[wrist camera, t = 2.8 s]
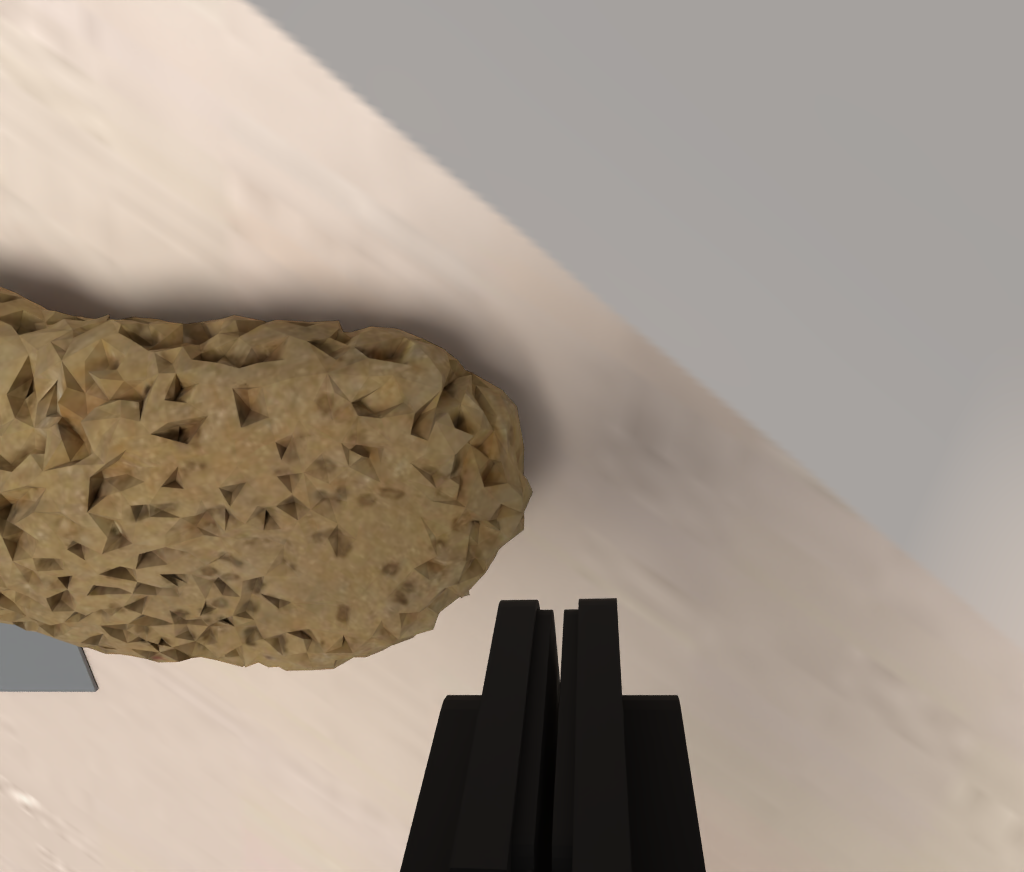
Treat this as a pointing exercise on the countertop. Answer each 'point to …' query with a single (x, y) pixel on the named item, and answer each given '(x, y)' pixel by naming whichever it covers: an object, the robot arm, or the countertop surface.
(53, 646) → the mat
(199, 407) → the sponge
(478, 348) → the countertop surface
